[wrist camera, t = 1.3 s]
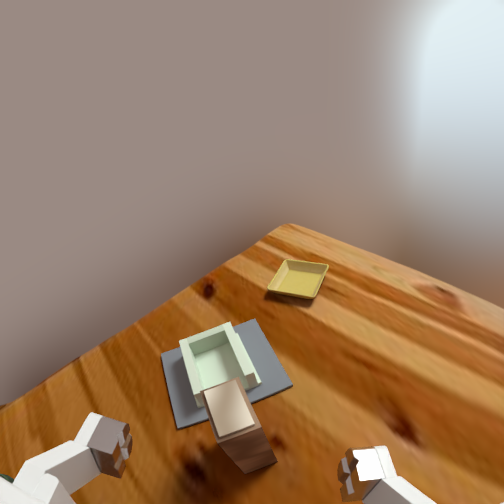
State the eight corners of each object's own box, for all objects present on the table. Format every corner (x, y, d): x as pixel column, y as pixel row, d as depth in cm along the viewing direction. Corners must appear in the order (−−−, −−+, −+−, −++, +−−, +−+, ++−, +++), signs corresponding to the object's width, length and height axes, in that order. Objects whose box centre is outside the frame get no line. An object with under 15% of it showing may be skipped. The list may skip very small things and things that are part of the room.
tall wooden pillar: (258, 422, 34) (237, 374, 28) (277, 461, 29) (260, 425, 23) (228, 433, 33) (198, 389, 27) (244, 474, 28) (216, 442, 22)
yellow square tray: (315, 306, 49) (314, 297, 48) (267, 297, 53) (265, 288, 52) (330, 273, 55) (329, 264, 54) (286, 267, 59) (285, 258, 58)
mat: (255, 320, 49) (254, 318, 49) (293, 385, 38) (292, 384, 37) (161, 355, 46) (160, 353, 46) (178, 429, 35) (177, 428, 34)
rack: (238, 334, 46) (233, 320, 45) (262, 383, 38) (257, 370, 37) (183, 355, 45) (175, 341, 43) (198, 408, 37) (190, 396, 35)
